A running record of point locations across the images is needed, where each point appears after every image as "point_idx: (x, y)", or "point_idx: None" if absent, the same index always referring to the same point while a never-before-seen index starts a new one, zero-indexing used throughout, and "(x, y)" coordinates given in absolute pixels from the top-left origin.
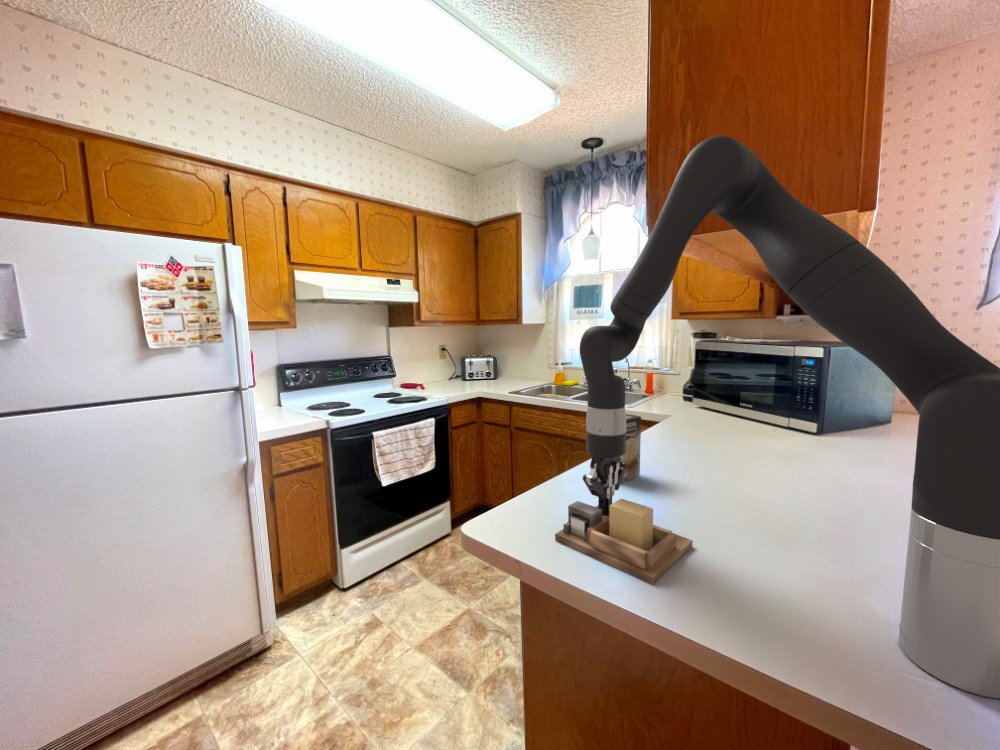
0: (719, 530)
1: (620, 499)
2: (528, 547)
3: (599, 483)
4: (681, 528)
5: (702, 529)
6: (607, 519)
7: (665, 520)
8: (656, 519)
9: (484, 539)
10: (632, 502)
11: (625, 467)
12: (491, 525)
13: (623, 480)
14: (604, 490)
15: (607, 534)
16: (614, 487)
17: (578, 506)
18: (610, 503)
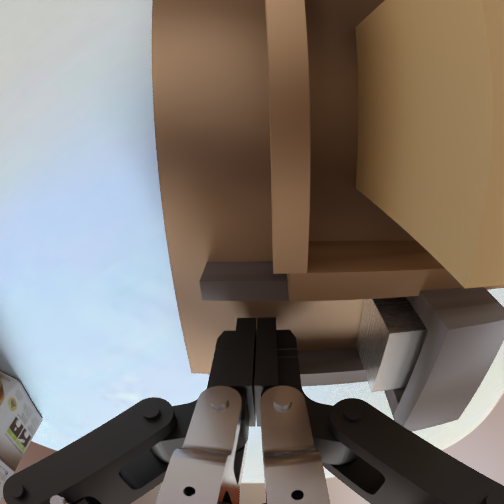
0: (7, 11)
1: (484, 283)
2: None
3: (434, 492)
4: (55, 74)
5: (24, 35)
6: (393, 280)
7: (43, 153)
8: (59, 181)
9: (488, 408)
10: (499, 149)
11: (20, 479)
12: (437, 439)
13: (2, 375)
14: (243, 439)
15: (387, 238)
16: (195, 430)
17: (454, 401)
18: (252, 357)
